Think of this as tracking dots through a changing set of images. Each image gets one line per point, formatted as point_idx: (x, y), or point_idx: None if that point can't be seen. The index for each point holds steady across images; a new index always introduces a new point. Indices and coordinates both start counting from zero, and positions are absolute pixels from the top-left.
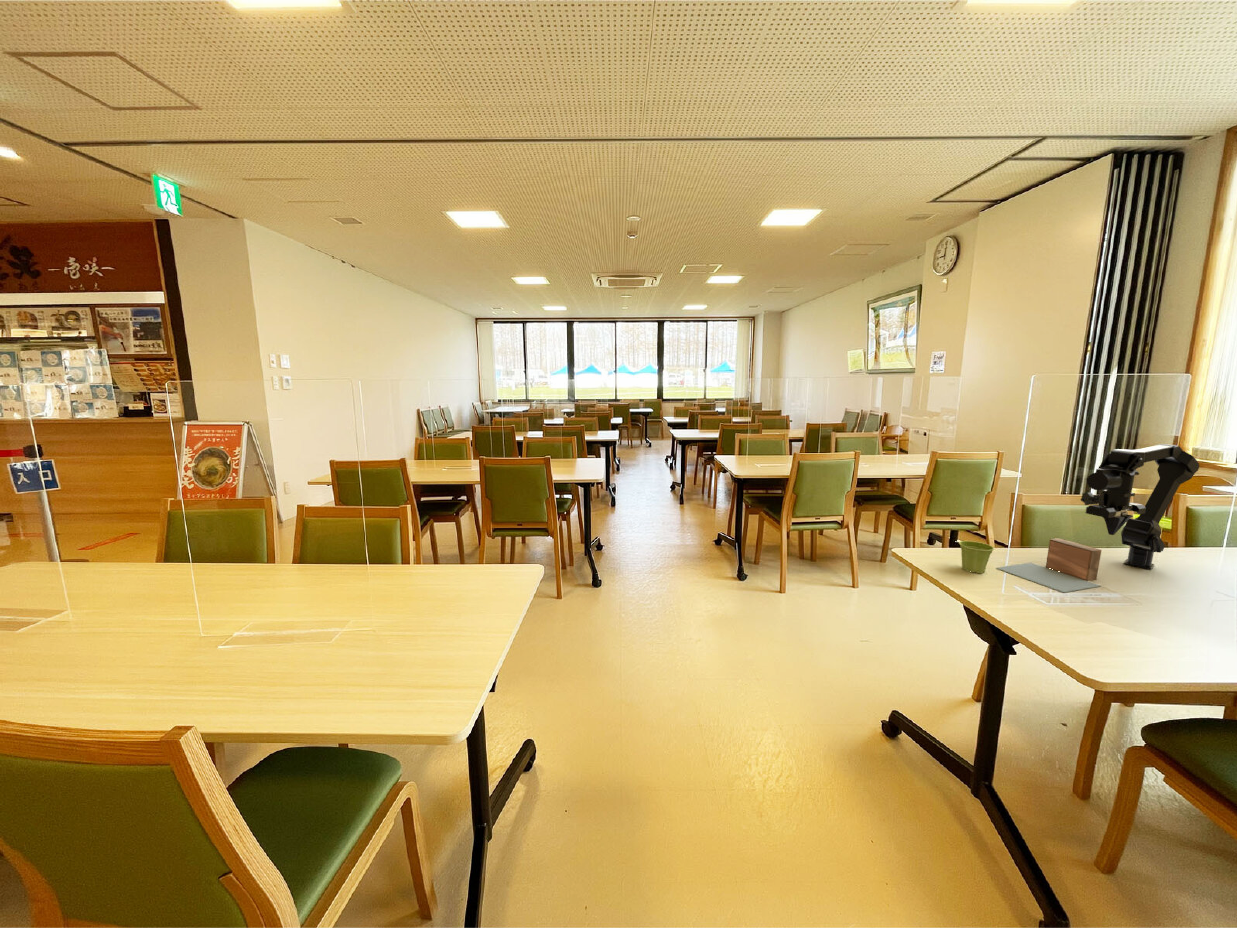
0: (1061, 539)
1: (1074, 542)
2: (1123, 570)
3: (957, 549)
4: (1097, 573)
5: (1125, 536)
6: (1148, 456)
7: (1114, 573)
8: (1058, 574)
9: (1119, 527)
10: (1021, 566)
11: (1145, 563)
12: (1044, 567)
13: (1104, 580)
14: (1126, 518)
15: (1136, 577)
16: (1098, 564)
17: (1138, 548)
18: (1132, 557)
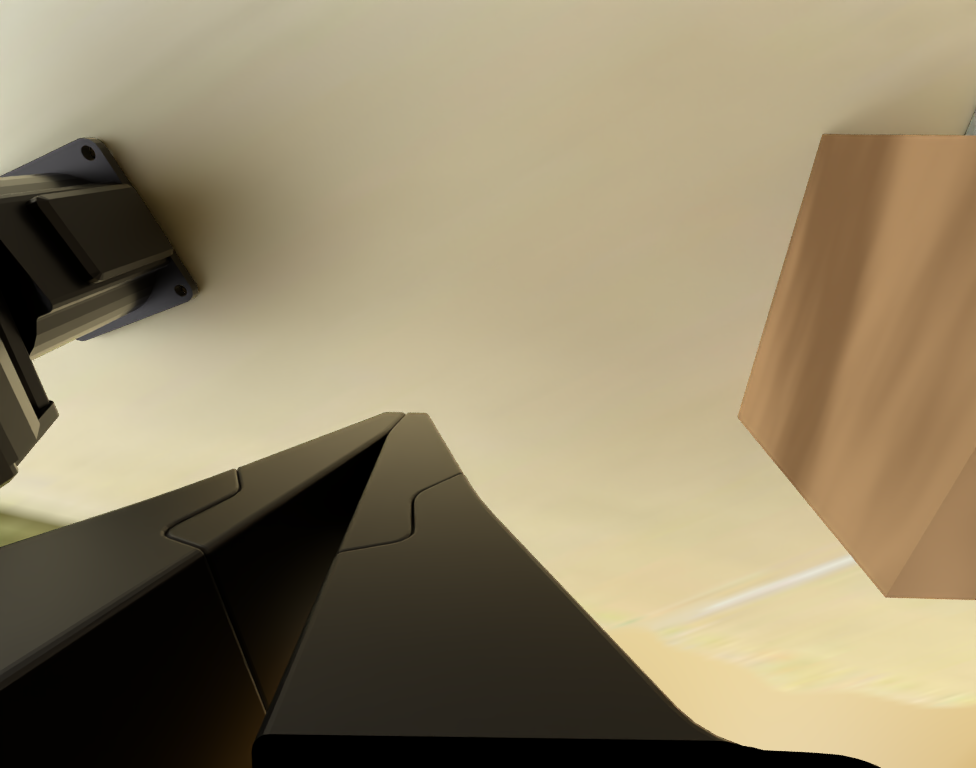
0: (926, 566)
1: (960, 471)
2: (346, 206)
3: (888, 692)
4: (861, 135)
5: (13, 431)
6: None
7: (497, 184)
8: None
9: (329, 458)
10: None
11: (82, 186)
12: None
13: (782, 98)
14: (5, 680)
15: (421, 50)
16: (948, 135)
17: (3, 285)
18: (126, 273)
